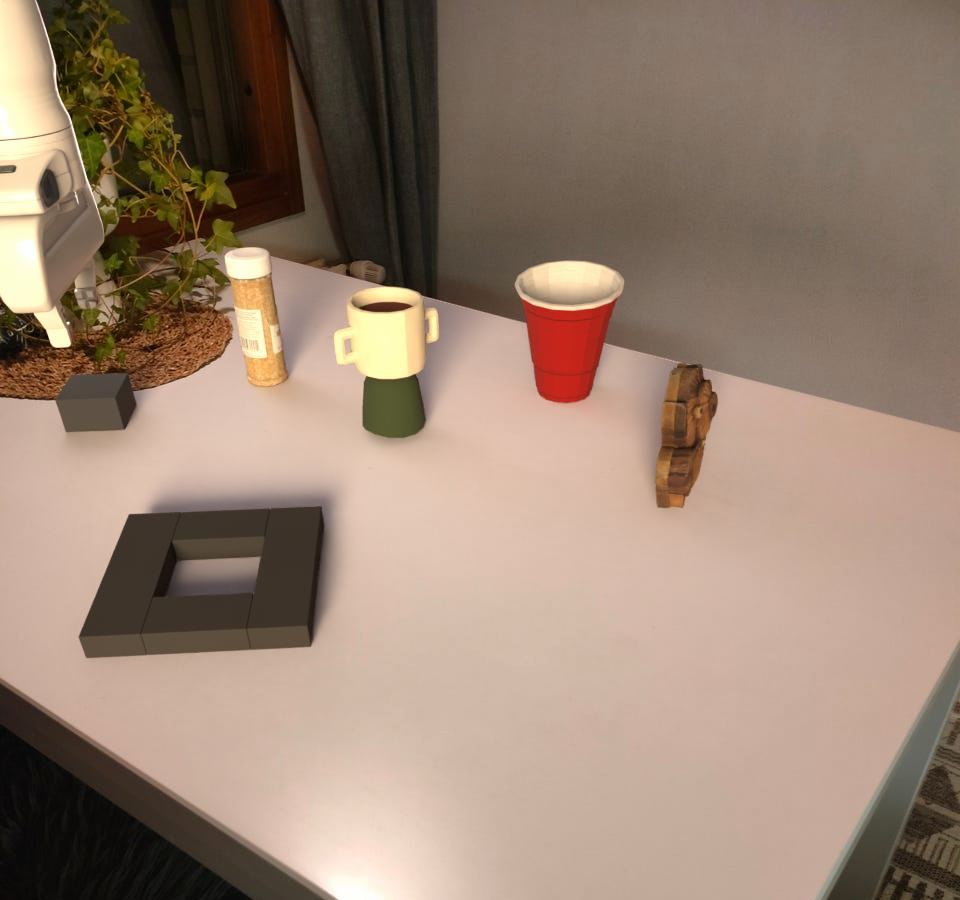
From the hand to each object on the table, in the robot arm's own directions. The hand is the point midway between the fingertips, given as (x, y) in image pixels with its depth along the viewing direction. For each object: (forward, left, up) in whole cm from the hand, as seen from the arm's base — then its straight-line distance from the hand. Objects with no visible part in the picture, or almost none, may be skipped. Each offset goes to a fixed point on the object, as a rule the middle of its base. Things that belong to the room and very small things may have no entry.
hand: (77, 324), depth 88 cm
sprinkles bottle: (+16, +8, -10) cm, 20 cm away
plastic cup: (+48, +2, -10) cm, 49 cm away
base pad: (+16, -30, -10) cm, 35 cm away
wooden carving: (+56, -17, -10) cm, 59 cm away
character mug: (+30, -5, -10) cm, 32 cm away
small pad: (0, 0, -10) cm, 10 cm away
